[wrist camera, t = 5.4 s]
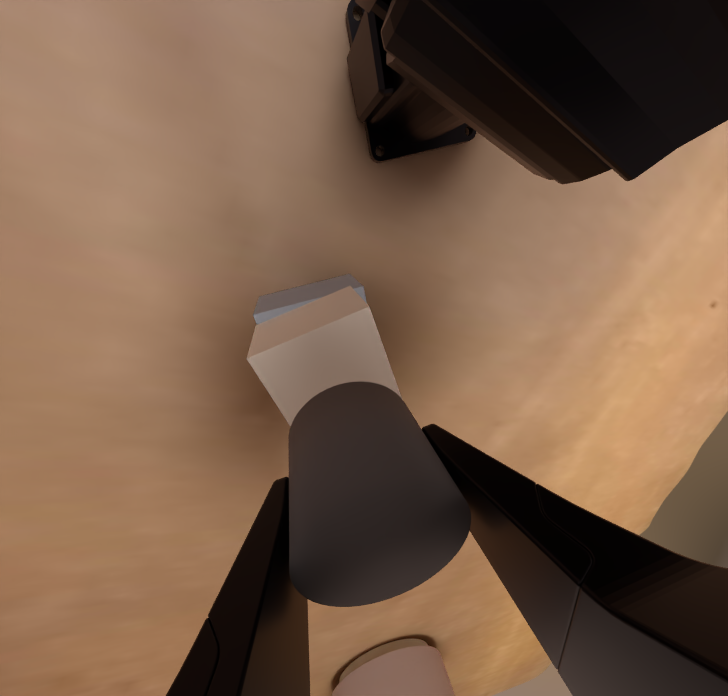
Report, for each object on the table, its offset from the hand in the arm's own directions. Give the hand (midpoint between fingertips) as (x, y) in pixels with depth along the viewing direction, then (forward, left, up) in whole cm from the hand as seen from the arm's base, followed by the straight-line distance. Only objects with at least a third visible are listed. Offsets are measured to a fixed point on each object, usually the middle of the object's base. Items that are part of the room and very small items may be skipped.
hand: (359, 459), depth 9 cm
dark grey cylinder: (0, 0, -1) cm, 1 cm away
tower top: (0, 0, -8) cm, 8 cm away
